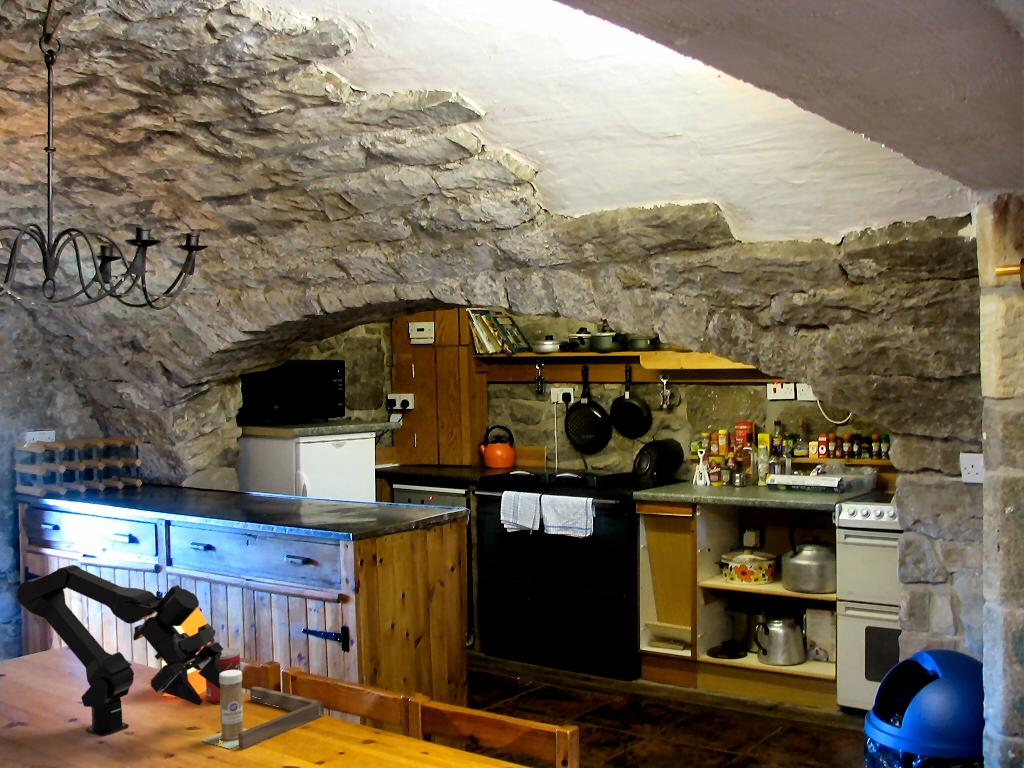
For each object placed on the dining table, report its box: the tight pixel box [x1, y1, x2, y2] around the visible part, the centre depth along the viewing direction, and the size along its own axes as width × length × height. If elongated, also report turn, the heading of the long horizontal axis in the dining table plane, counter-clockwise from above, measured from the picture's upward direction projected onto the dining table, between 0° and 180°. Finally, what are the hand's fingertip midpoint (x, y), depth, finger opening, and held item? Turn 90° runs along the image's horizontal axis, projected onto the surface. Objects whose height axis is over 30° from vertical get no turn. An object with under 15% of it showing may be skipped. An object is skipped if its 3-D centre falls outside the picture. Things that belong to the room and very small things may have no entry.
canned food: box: [205, 647, 241, 704], centre depth 223 cm, size 8×8×11 cm
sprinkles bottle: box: [219, 669, 244, 740], centre depth 198 cm, size 5×5×14 cm
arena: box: [200, 686, 325, 750], centre depth 206 cm, size 22×24×3 cm
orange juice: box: [161, 606, 210, 698], centre depth 229 cm, size 8×9×20 cm
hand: (213, 696), depth 198 cm, fingers open, 9 cm apart
